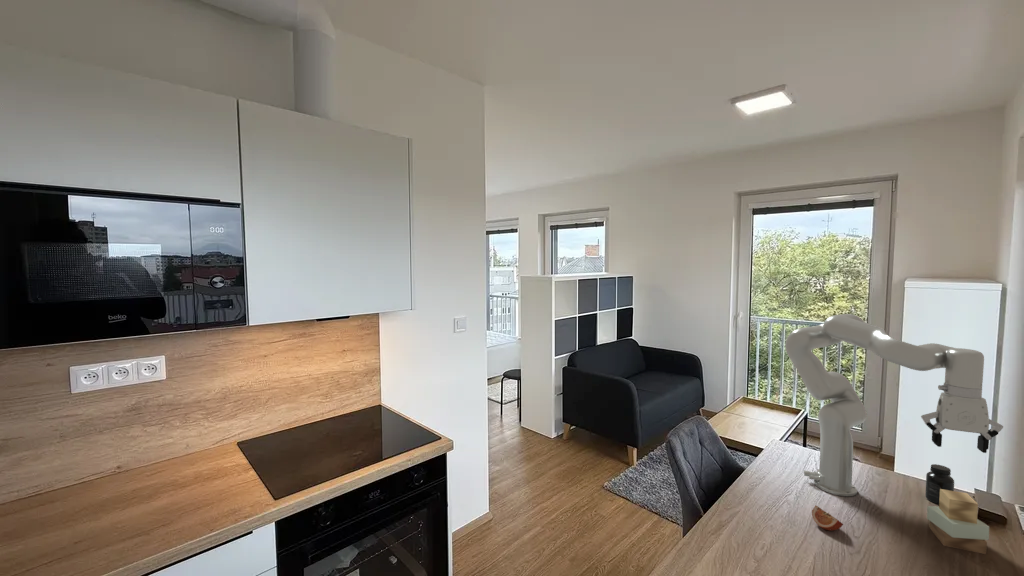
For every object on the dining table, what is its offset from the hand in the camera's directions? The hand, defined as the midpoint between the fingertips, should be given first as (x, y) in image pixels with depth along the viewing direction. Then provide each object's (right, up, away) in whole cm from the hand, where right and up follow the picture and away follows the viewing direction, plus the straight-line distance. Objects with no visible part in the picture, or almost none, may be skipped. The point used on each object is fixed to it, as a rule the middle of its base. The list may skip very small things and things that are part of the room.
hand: (959, 447), depth 124 cm
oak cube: (0, -20, +1) cm, 20 cm away
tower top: (0, -24, +1) cm, 24 cm away
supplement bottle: (+15, -27, +21) cm, 37 cm away
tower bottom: (0, -28, +1) cm, 28 cm away
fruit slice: (-33, -28, +8) cm, 44 cm away
